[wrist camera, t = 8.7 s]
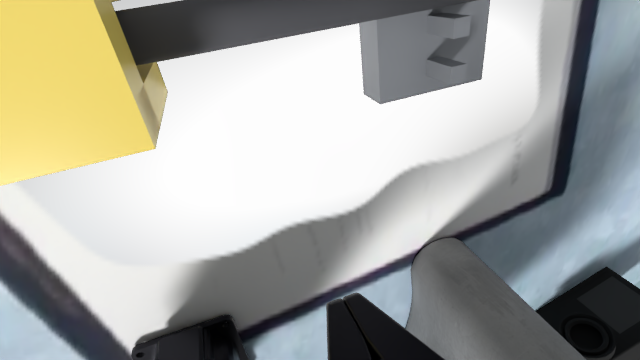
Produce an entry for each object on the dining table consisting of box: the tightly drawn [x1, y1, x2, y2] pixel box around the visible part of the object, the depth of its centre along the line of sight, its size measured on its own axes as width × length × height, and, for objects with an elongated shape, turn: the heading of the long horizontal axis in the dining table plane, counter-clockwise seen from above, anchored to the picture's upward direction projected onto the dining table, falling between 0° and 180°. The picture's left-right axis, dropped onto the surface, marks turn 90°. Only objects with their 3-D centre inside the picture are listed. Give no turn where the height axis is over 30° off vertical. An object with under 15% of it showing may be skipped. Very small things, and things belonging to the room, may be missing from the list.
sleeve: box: [0, 0, 167, 186], centre depth 11 cm, size 5×5×7 cm
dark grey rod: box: [115, 0, 477, 66], centre depth 13 cm, size 26×5×6 cm, turn 98°
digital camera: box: [536, 267, 640, 360], centre depth 35 cm, size 10×5×7 cm, turn 117°
